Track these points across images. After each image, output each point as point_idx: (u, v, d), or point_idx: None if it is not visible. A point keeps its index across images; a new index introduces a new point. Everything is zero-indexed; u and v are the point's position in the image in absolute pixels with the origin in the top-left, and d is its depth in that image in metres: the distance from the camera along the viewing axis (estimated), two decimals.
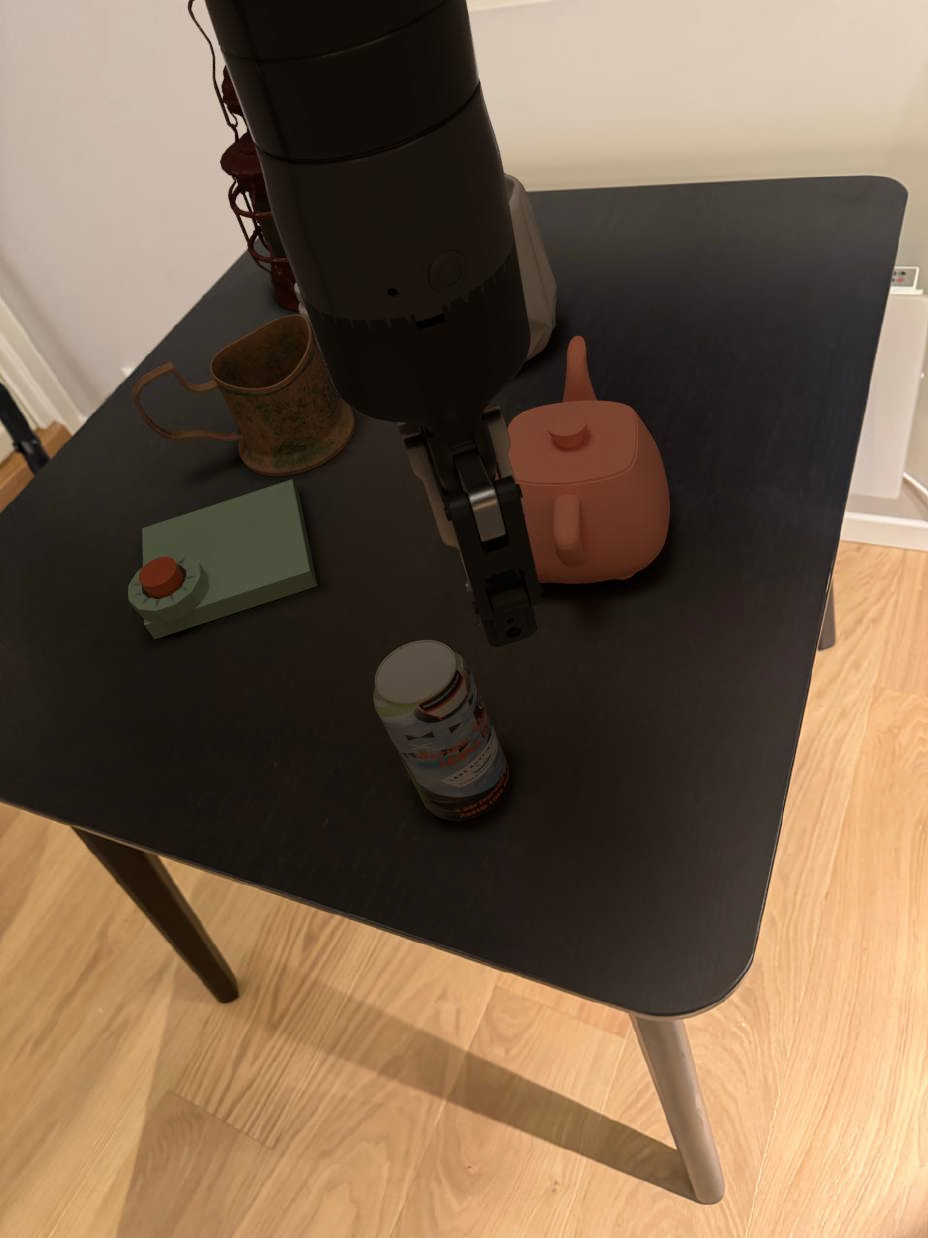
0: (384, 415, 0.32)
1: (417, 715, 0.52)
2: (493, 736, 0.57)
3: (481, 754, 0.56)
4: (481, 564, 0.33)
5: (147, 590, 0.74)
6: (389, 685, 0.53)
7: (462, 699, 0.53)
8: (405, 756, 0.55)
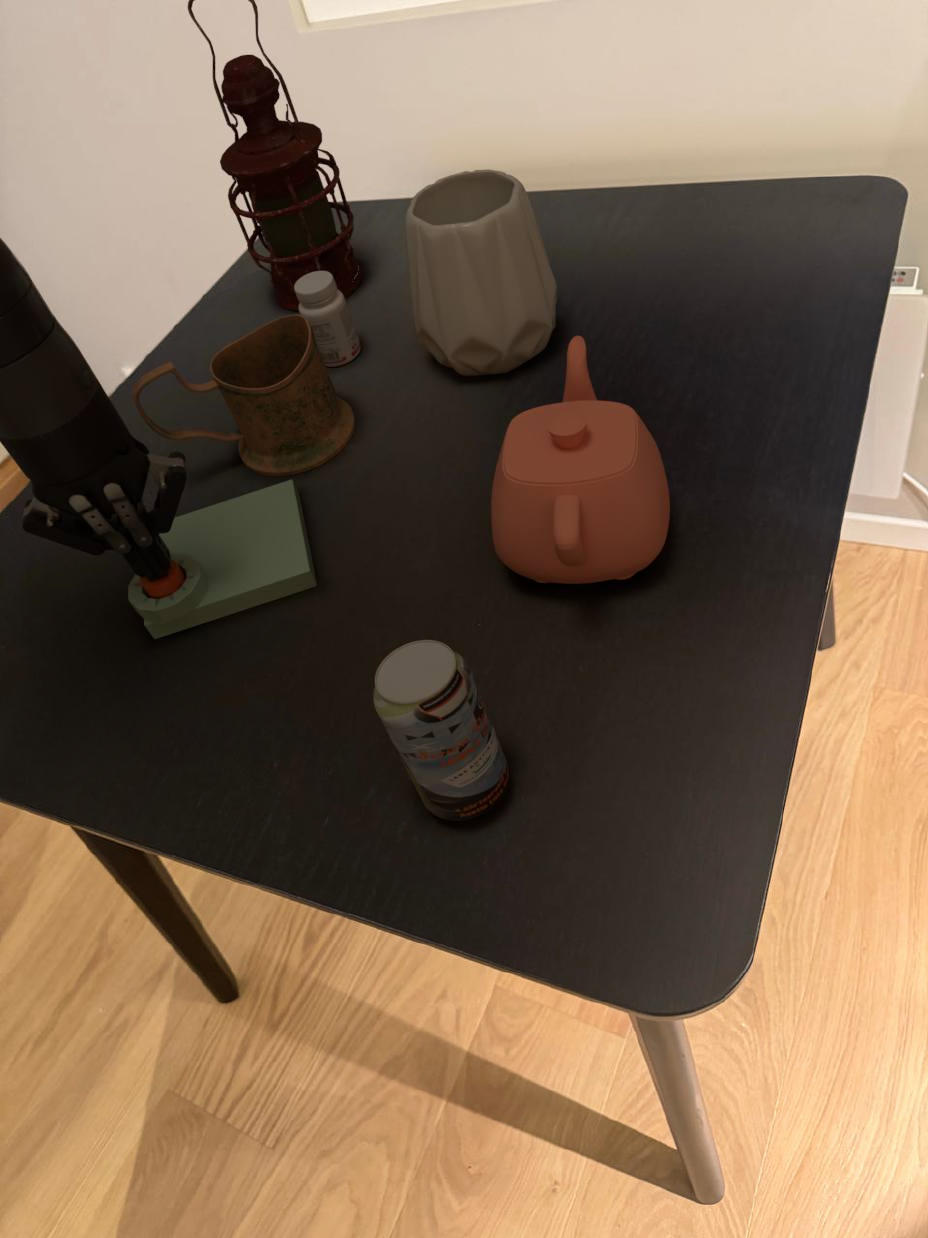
0: None
1: (417, 715, 0.52)
2: (493, 736, 0.57)
3: (481, 754, 0.56)
4: None
5: (148, 592, 0.74)
6: (389, 685, 0.53)
7: (462, 699, 0.53)
8: (405, 756, 0.55)
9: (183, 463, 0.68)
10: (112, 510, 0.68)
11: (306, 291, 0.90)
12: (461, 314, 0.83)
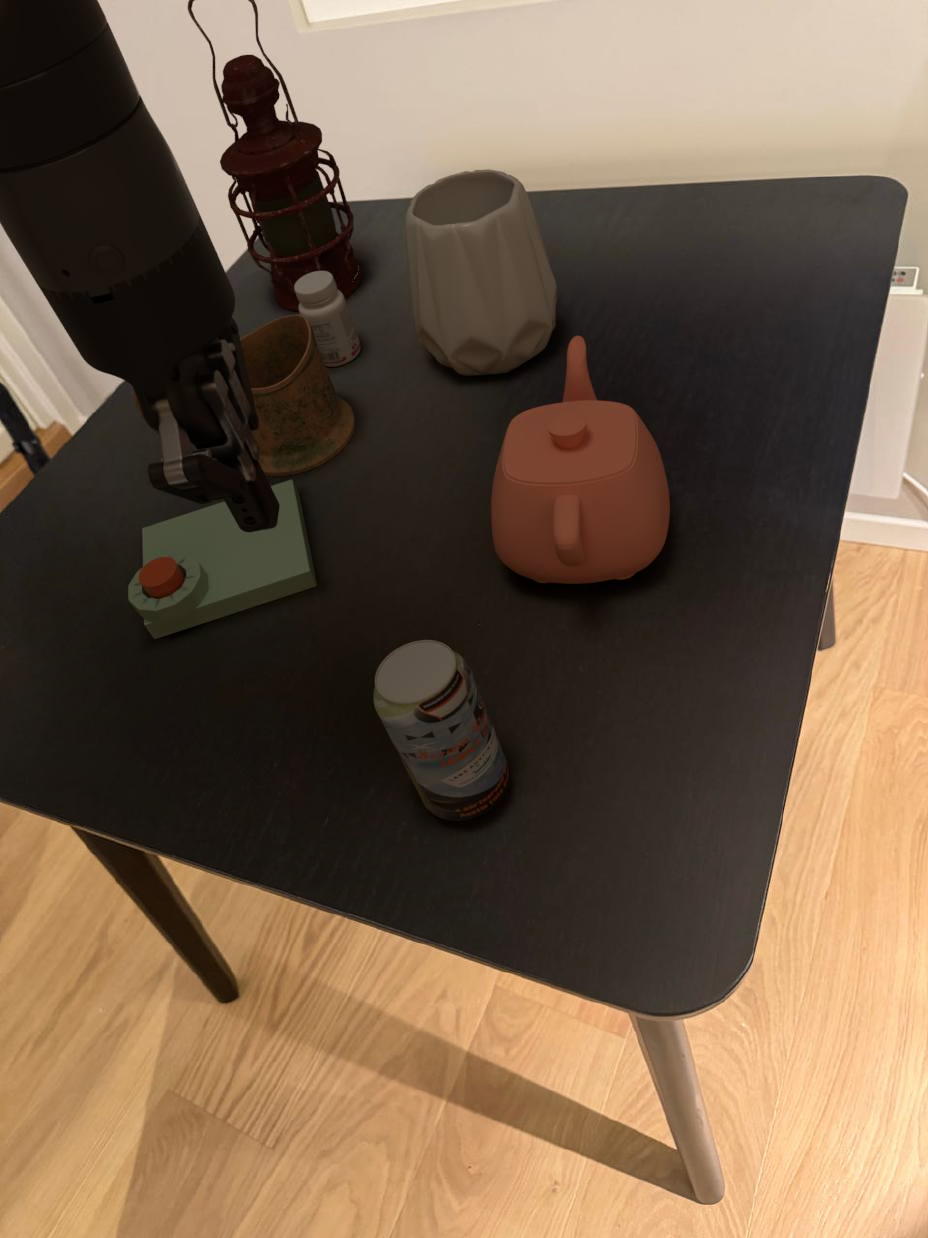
0: (95, 367, 0.41)
1: (417, 715, 0.52)
2: (493, 736, 0.57)
3: (481, 754, 0.56)
4: (187, 494, 0.45)
5: (147, 590, 0.74)
6: (389, 685, 0.53)
7: (462, 699, 0.53)
8: (405, 756, 0.55)
9: None
10: None
11: (306, 291, 0.90)
12: (461, 314, 0.83)
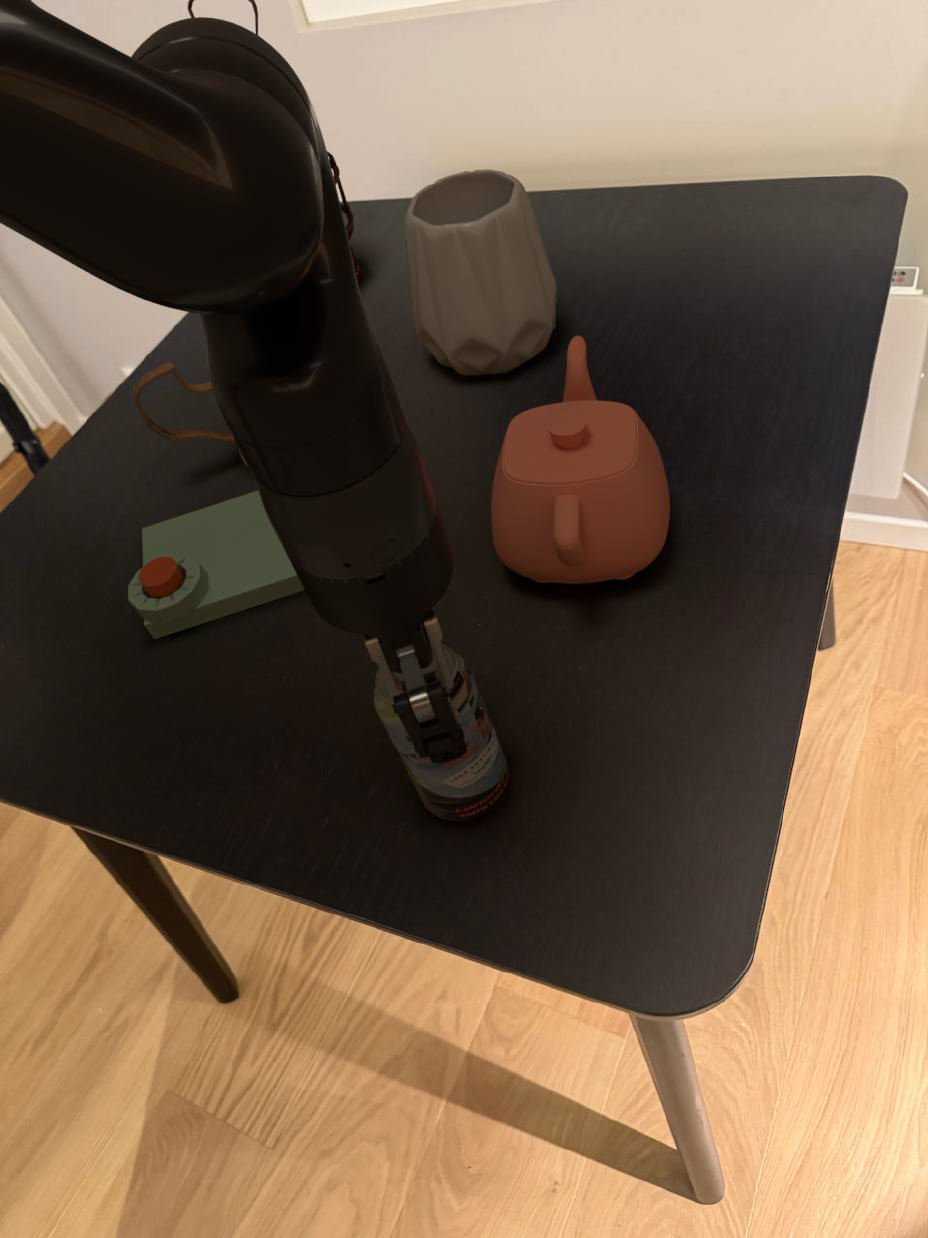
0: (346, 629, 0.45)
1: None
2: (493, 737, 0.57)
3: (482, 754, 0.56)
4: (419, 734, 0.47)
5: (147, 590, 0.74)
6: None
7: (463, 700, 0.53)
8: (406, 757, 0.55)
9: None
10: None
11: None
12: (461, 314, 0.83)
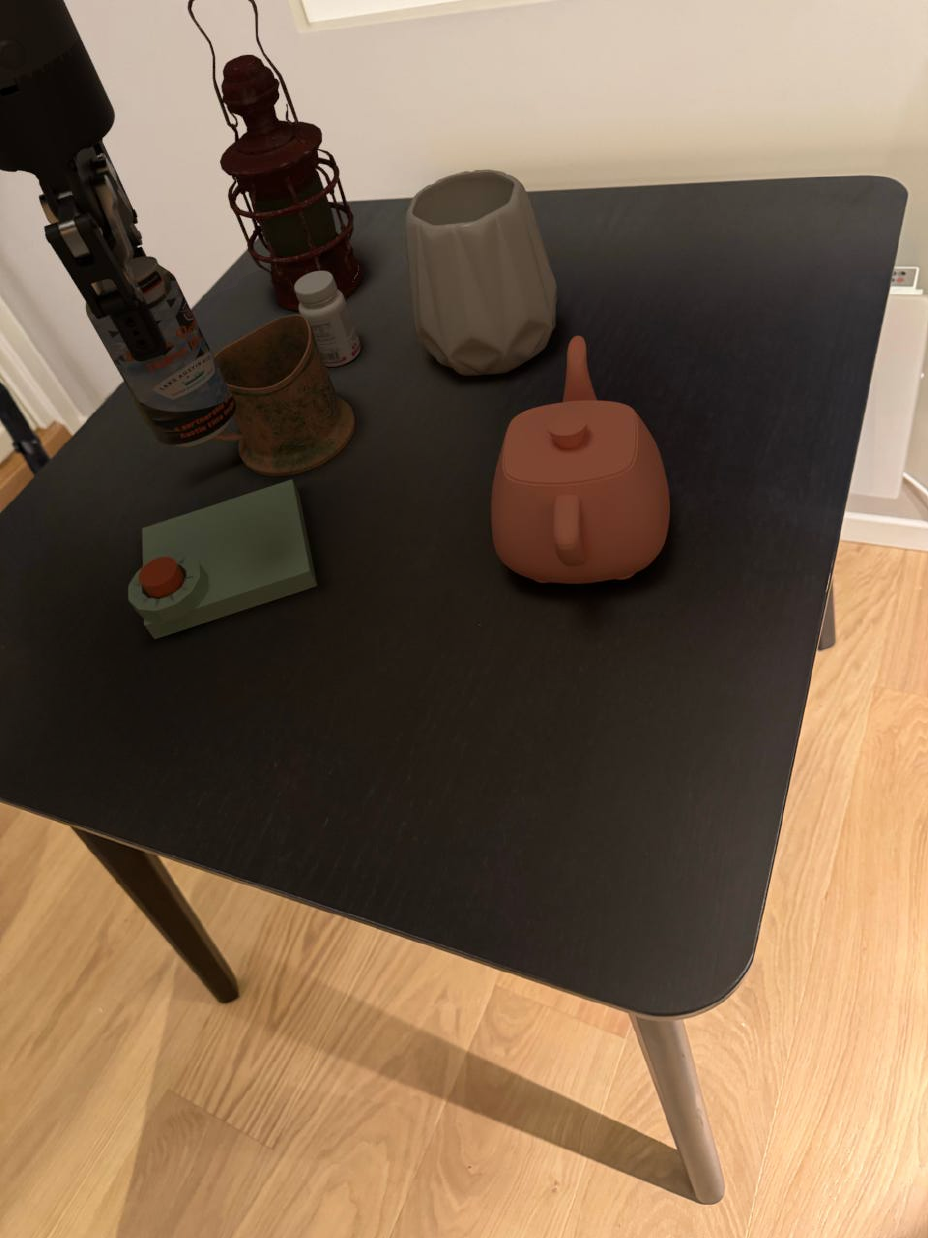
0: (4, 165, 0.50)
1: None
2: (208, 357, 0.62)
3: (190, 365, 0.61)
4: (80, 274, 0.51)
5: (147, 590, 0.74)
6: None
7: (159, 296, 0.58)
8: (118, 364, 0.60)
9: None
10: None
11: (306, 291, 0.90)
12: (461, 314, 0.83)
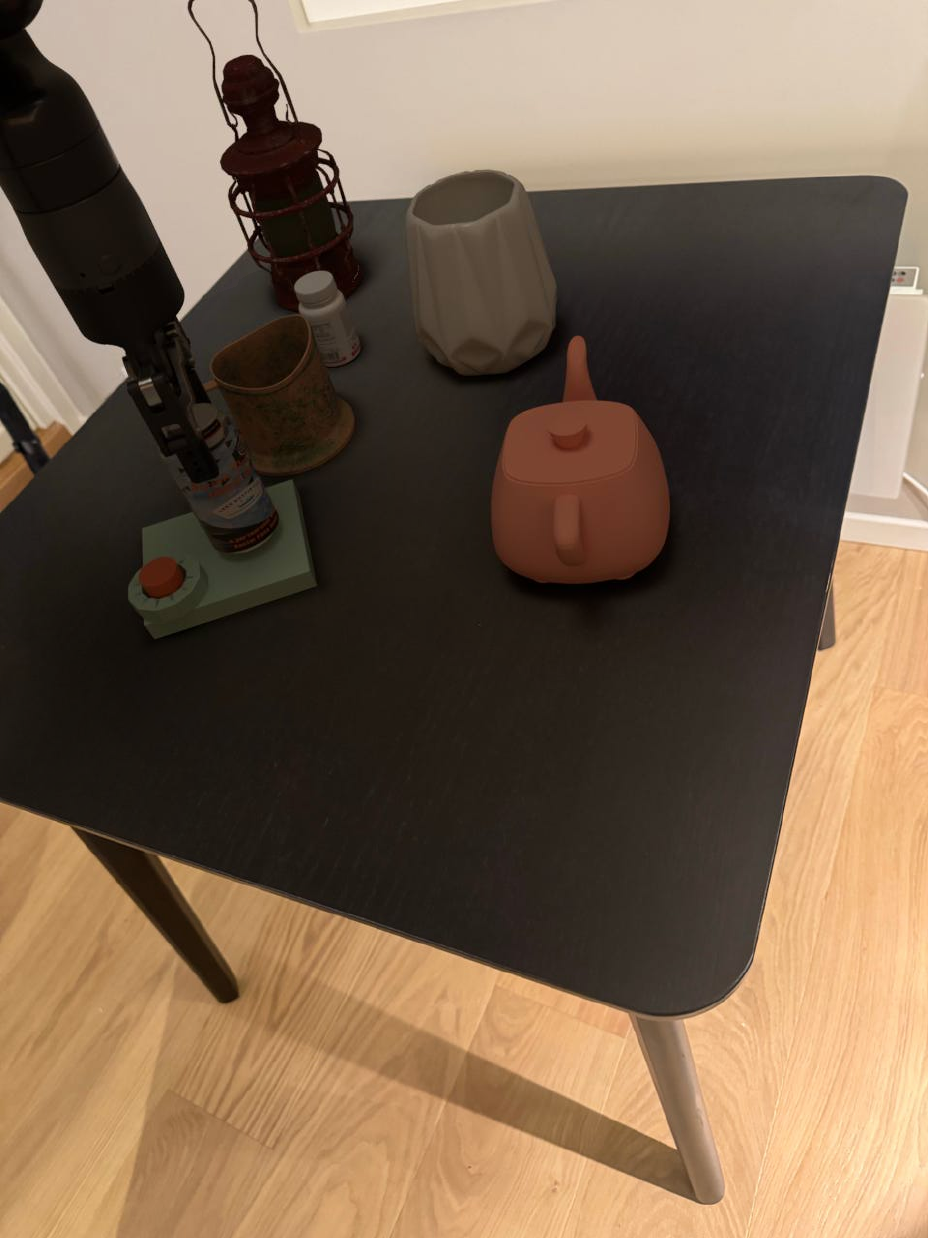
0: (98, 341, 0.62)
1: None
2: (257, 482, 0.75)
3: (243, 491, 0.73)
4: (153, 420, 0.62)
5: (147, 590, 0.74)
6: None
7: (219, 439, 0.70)
8: (184, 492, 0.73)
9: None
10: None
11: (306, 291, 0.90)
12: (461, 314, 0.83)
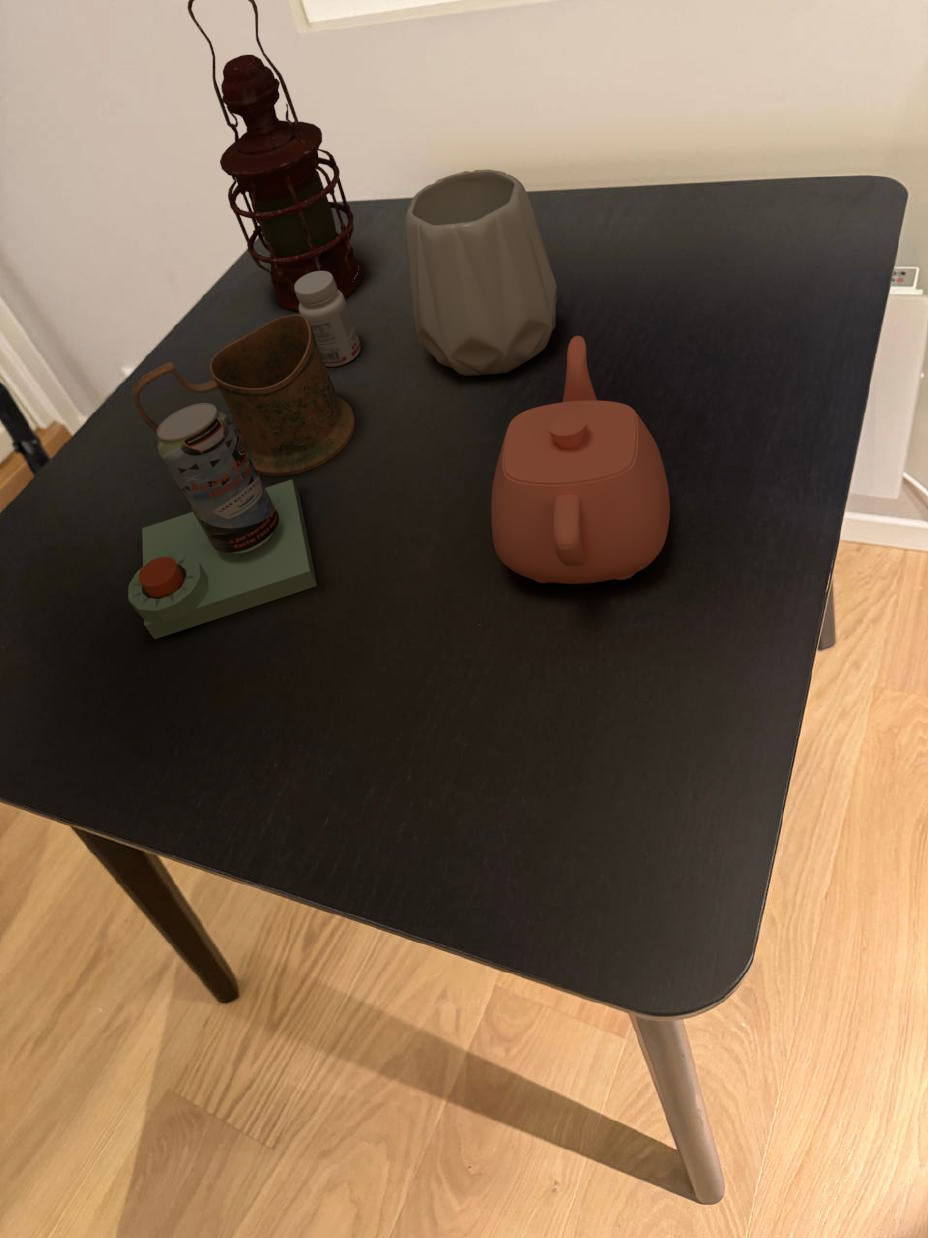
0: None
1: (183, 449, 0.70)
2: (257, 482, 0.75)
3: (243, 491, 0.73)
4: None
5: (147, 590, 0.74)
6: (166, 431, 0.71)
7: (219, 439, 0.70)
8: (184, 492, 0.73)
9: None
10: None
11: (306, 291, 0.90)
12: (461, 314, 0.83)
